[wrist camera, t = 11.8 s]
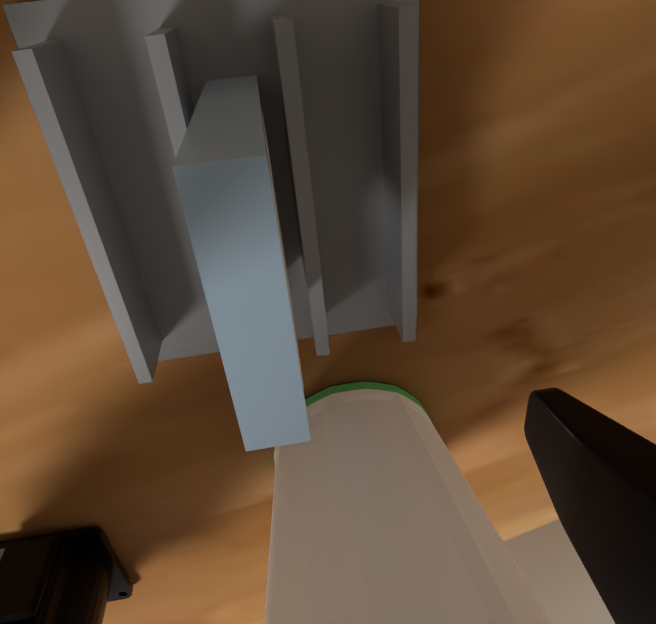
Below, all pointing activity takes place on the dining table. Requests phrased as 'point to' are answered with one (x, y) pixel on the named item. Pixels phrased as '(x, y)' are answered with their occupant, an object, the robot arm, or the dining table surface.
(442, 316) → the dining table surface
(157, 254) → the rack
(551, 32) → the dining table surface
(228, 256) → the light blue upright panel
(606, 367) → the dining table surface
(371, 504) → the cup
